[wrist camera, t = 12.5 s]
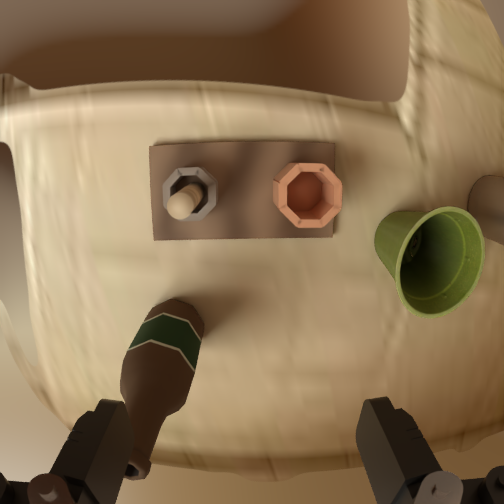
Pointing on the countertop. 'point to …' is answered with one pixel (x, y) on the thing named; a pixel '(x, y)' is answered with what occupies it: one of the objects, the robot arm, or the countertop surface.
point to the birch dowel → (185, 200)
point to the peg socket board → (230, 188)
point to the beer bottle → (158, 375)
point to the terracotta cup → (307, 194)
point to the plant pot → (432, 258)
